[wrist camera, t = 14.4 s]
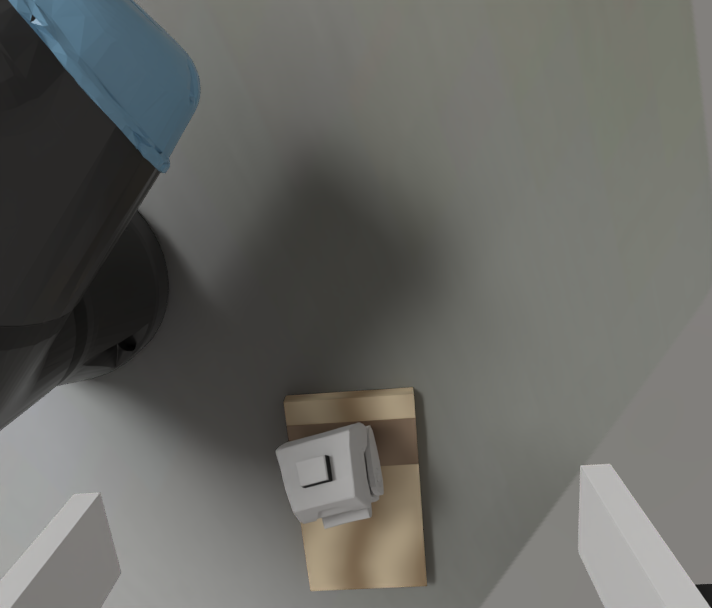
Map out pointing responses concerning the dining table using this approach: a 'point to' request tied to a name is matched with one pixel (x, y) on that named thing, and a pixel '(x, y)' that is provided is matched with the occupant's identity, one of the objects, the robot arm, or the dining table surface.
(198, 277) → the dining table surface
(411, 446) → the plywood panel
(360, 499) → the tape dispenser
